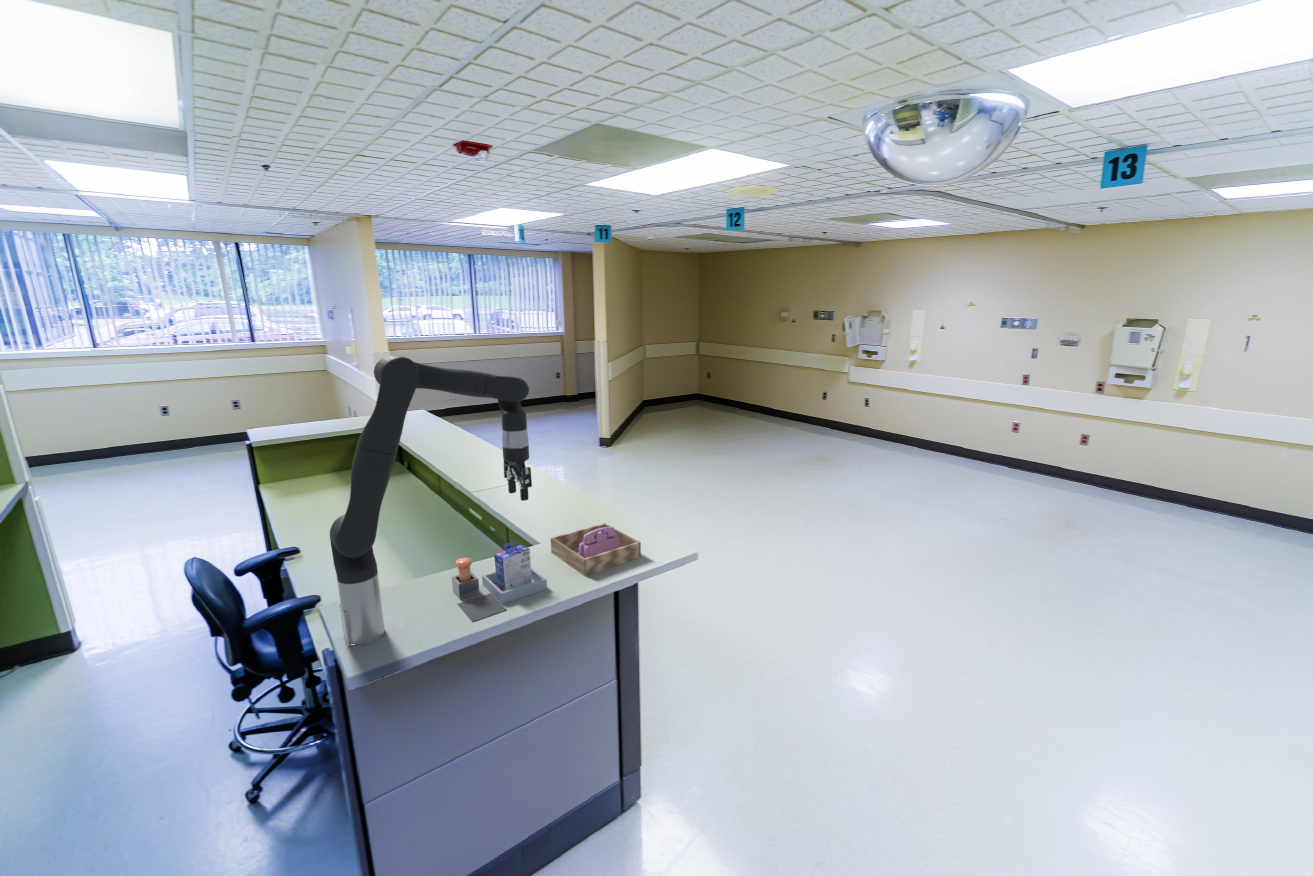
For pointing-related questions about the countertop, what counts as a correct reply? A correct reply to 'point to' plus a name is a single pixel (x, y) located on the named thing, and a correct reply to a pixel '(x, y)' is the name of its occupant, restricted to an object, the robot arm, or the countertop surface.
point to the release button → (464, 569)
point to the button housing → (465, 586)
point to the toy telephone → (598, 542)
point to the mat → (482, 607)
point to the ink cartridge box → (513, 567)
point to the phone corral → (598, 562)
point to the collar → (515, 592)
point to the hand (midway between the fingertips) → (518, 496)
